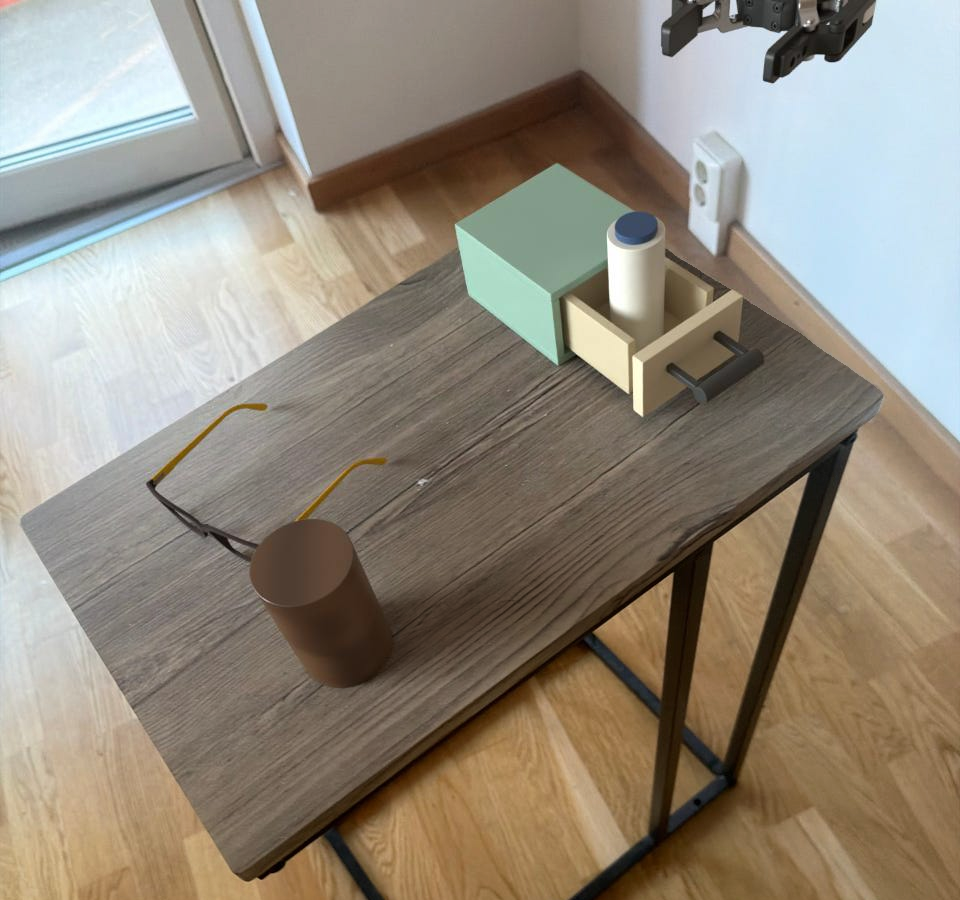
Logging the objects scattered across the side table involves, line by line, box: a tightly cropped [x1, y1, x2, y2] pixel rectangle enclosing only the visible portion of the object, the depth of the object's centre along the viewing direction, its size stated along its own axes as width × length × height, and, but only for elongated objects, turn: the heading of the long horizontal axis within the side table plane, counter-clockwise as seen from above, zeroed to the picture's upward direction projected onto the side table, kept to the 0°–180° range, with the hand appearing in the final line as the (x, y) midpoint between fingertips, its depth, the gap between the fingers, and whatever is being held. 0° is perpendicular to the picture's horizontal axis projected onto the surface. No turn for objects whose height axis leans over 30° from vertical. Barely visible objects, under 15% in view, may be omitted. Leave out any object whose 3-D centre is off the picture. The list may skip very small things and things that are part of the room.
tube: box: [607, 210, 667, 353], centre depth 75 cm, size 4×4×11 cm
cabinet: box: [454, 162, 636, 367], centre depth 83 cm, size 14×12×8 cm
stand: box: [248, 518, 393, 689], centre depth 65 cm, size 7×7×11 cm
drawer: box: [559, 256, 766, 418], centre depth 76 cm, size 17×10×6 cm, turn 36°
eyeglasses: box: [145, 402, 388, 564], centre depth 77 cm, size 14×14×4 cm
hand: (715, 55), depth 67 cm, fingers open, 8 cm apart
